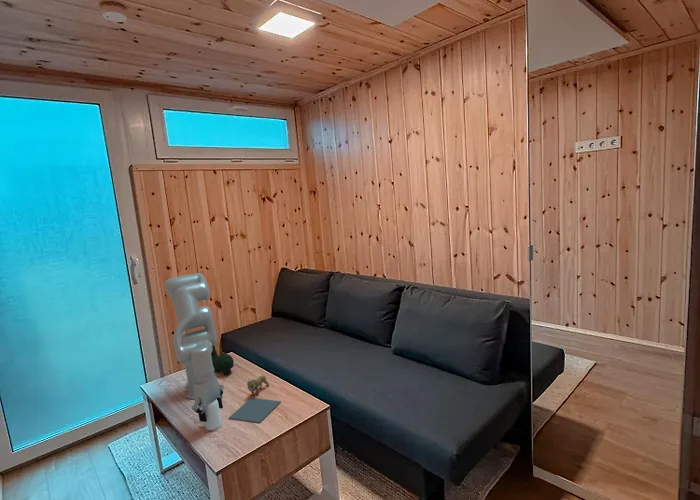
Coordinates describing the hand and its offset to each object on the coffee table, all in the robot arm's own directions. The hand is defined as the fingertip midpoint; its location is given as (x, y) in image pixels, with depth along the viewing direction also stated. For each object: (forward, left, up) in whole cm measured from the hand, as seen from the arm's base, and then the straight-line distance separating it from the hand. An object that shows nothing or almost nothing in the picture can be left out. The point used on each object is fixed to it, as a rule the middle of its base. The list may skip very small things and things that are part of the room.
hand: (211, 414), depth 158 cm
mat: (+11, +14, -5) cm, 19 cm away
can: (0, 0, -6) cm, 6 cm away
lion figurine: (+3, +28, -6) cm, 29 cm away
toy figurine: (-33, +44, -6) cm, 55 cm away
